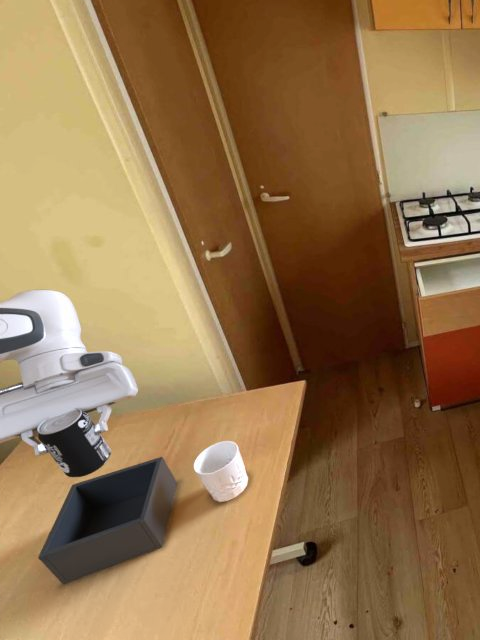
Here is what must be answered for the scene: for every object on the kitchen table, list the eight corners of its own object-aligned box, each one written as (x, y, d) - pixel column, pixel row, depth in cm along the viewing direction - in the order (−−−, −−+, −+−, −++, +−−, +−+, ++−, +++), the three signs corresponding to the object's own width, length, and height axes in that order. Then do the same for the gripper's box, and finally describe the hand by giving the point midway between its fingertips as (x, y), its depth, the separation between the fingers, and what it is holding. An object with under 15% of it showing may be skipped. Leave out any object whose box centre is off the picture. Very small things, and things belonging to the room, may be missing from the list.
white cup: (238, 464, 97) (225, 435, 92) (258, 481, 93) (245, 451, 88) (202, 493, 91) (185, 462, 86) (221, 512, 87) (205, 481, 82)
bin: (63, 584, 75) (37, 557, 71) (92, 511, 87) (71, 484, 83) (162, 546, 81) (144, 519, 77) (177, 482, 93) (162, 456, 89)
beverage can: (57, 475, 78) (23, 431, 73) (96, 446, 84) (66, 402, 78) (84, 483, 77) (51, 438, 71) (121, 452, 83) (93, 409, 77)
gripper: (-36, 394, 71) (-21, 474, 69) (120, 348, 82) (138, 416, 80) (-13, 397, 77) (2, 472, 74) (131, 353, 87) (148, 417, 85)
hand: (73, 442), depth 77 cm, fingers closed on beverage can, 6 cm apart
